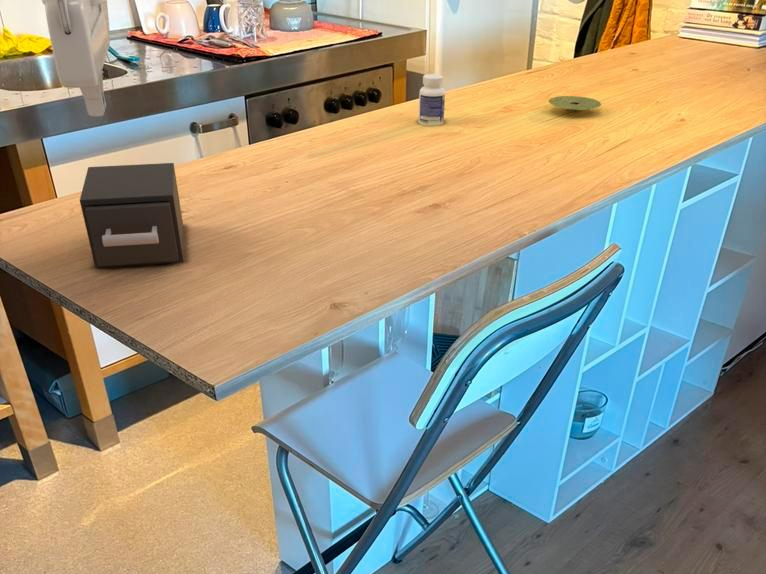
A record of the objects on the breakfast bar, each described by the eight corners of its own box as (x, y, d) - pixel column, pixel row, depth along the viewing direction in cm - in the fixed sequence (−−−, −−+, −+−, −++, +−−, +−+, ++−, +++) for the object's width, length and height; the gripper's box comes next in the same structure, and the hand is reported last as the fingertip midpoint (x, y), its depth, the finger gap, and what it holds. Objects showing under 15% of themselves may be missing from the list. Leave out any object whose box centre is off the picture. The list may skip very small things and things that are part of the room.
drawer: (178, 273, 110) (169, 216, 105) (95, 279, 109) (82, 221, 104) (178, 227, 123) (170, 174, 118) (104, 232, 121) (92, 178, 116)
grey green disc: (551, 102, 183) (552, 93, 181) (602, 107, 180) (603, 97, 179) (543, 116, 174) (545, 106, 173) (596, 121, 172) (598, 111, 171)
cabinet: (183, 263, 115) (173, 194, 109) (95, 269, 113) (79, 200, 107) (183, 227, 125) (173, 162, 119) (102, 232, 123) (88, 166, 117)
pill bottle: (446, 126, 168) (449, 78, 162) (422, 127, 167) (423, 79, 161) (439, 119, 172) (441, 72, 166) (415, 120, 171) (417, 73, 165)
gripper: (91, -22, 74) (122, 139, 83) (106, -50, 89) (130, 89, 98) (18, -21, 73) (57, 142, 82) (46, -49, 88) (76, 91, 97)
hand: (97, 112), depth 90 cm, fingers closed
